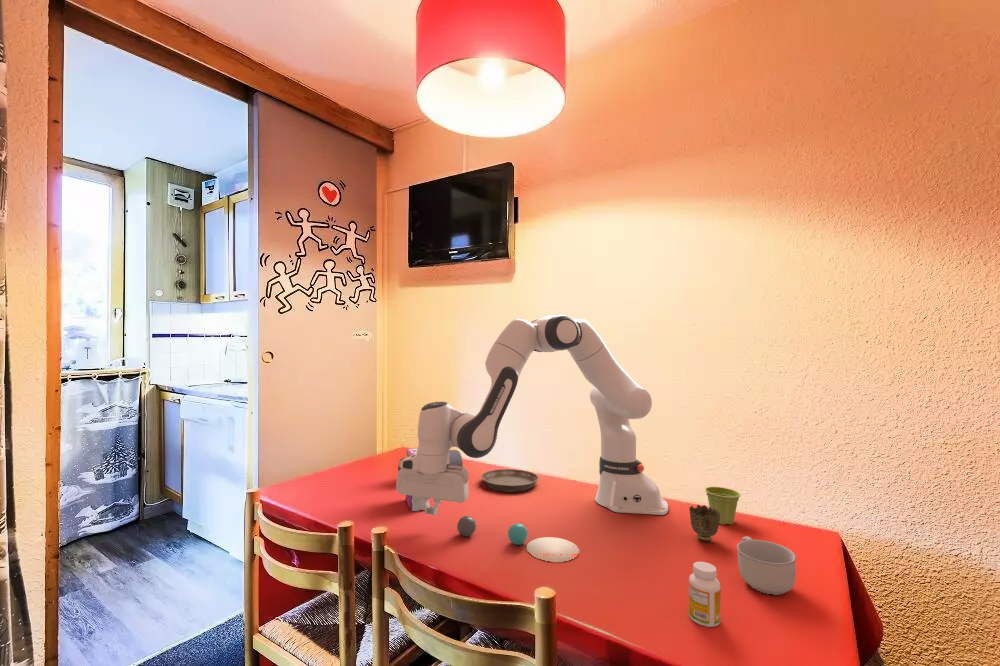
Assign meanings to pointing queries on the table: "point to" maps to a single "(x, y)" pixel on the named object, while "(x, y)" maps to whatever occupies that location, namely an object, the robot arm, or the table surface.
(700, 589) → the supplement bottle
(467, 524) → the gray ball
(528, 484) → the plant saucer
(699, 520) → the cup
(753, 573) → the teacup
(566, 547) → the cream mark
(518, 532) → the teal ball
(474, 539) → the table surface
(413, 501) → the candy bar box
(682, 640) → the table surface
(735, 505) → the plant pot
